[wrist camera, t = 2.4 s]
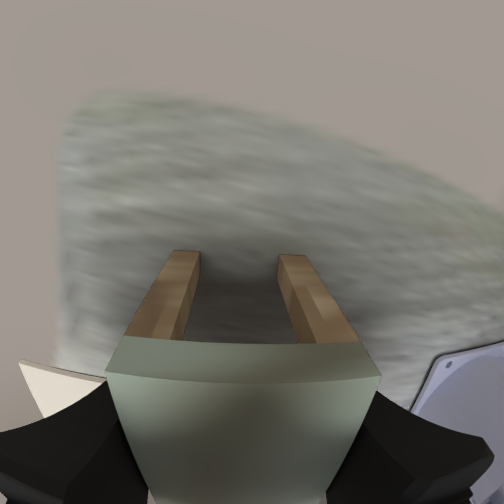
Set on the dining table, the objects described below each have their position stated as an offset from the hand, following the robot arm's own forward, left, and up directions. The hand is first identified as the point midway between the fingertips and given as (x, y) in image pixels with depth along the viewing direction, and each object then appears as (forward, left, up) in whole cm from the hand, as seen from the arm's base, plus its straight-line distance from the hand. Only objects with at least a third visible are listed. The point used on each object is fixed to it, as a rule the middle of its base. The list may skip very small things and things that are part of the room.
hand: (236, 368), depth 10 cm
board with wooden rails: (0, 0, -2) cm, 2 cm away
